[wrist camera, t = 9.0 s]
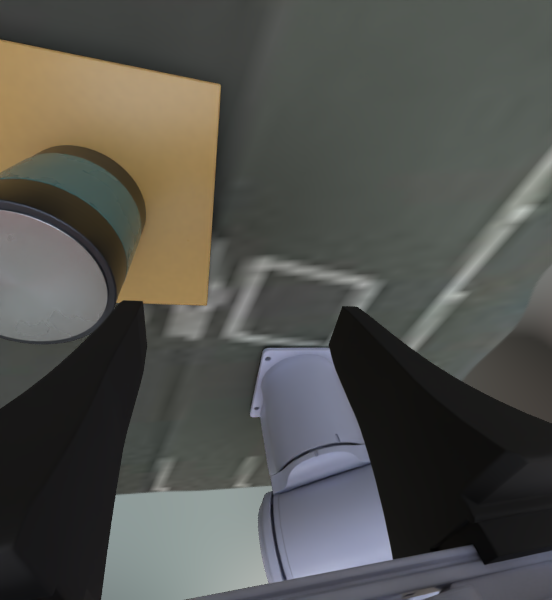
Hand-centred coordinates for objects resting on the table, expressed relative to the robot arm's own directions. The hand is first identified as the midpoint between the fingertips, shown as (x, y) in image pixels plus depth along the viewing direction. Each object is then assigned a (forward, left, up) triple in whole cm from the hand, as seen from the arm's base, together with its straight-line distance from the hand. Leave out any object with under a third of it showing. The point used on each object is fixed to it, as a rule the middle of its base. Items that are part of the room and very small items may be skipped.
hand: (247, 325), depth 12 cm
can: (+1, +7, -8) cm, 11 cm away
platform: (+1, +7, -10) cm, 13 cm away
